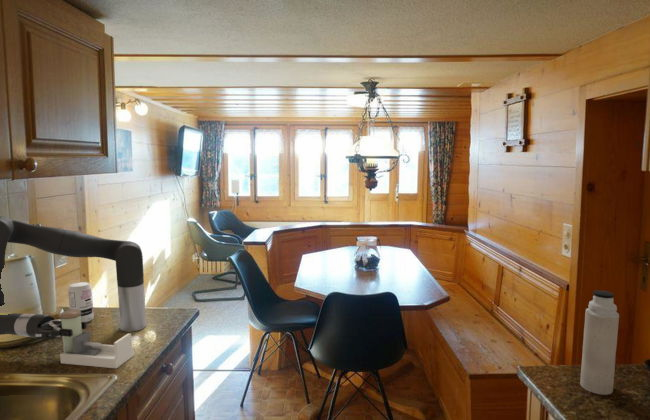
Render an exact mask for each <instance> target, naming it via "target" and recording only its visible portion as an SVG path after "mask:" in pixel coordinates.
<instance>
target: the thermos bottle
mask: <svg viewBox="0 0 650 420" xmlns="http://www.w3.org/2000/svg"><path fill="white" fill-rule="evenodd" d="M592 295H593V296H592V300H590V301H589V302H588V304H587V305H588V308H585V313H584V326H583V327H584V328H583V341H582V355H581V356H582V357H581V369H580V381H579V384H580V386H581V388H583V389H584V390H586V391H588V392H590V393H593V394H596V395H604V396H605V395H606V396H607V395H611V394H612V393H613V392H614V382H615V381H614V380H615V367H616V357H617V355H616V354H617V345H618V332H619V321H620V314H619V312H617V311H618V306H617V305H616V304H615V303H614V301H615V300H614V297H615V294H614V293H613V292H611V291H606V290H593V292H592Z"/></svg>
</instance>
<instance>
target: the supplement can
mask: <svg viewBox="0 0 650 420" xmlns="http://www.w3.org/2000/svg"><path fill="white" fill-rule="evenodd" d="M67 290H68V303H69V305H68V306H69V310H80V311H81V322H86V323H88V322H91V321H92V320H93V319H94V318H95V317H94V316H95V313H94V301H93V287H92V285H91V284H90V282H89V281H78V282H74V283H71V284H69V287H68V288H67Z"/></svg>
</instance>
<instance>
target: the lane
mask: <svg viewBox="0 0 650 420" xmlns="http://www.w3.org/2000/svg"><path fill="white" fill-rule="evenodd" d="M91 348H94V349H101V351H100V352H99V353H97V354H96V355H94V356H91V355H80V354H69V353H64V352H61V353H60V354H59V358H60V359H59V360H60V364H64V365H74V366H75V365H76V366H77V365H78V366H86V367H87V366H89V367H95V368H97V367H98V368H106V369H107V368H108V369H117V368H119V367H120V366H122V365H124V363H126V362H127V361H129V360H130V359H131V358H133V357H134V356H135V348H134V346H132V334H131V333H129V332H127V333H126V334H125V335H124V336H122V337H121V338H119V339H117V340H116V341H114V342H113V344H103V343H101V345H100V347H96V346H91Z"/></svg>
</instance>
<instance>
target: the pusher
mask: <svg viewBox="0 0 650 420" xmlns="http://www.w3.org/2000/svg"><path fill="white" fill-rule="evenodd" d="M72 340H73V352H74V354H80V355H91V356H94V355H96V354H97V353H99V352H100V351H101V349H94V348H91V346H96V347H100V345H101V344H102V343H101V342H93V341H91V331H90V330H85V331H84V332H82V334H80V335H78V336H76V337H75V338H73V339H72Z"/></svg>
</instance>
